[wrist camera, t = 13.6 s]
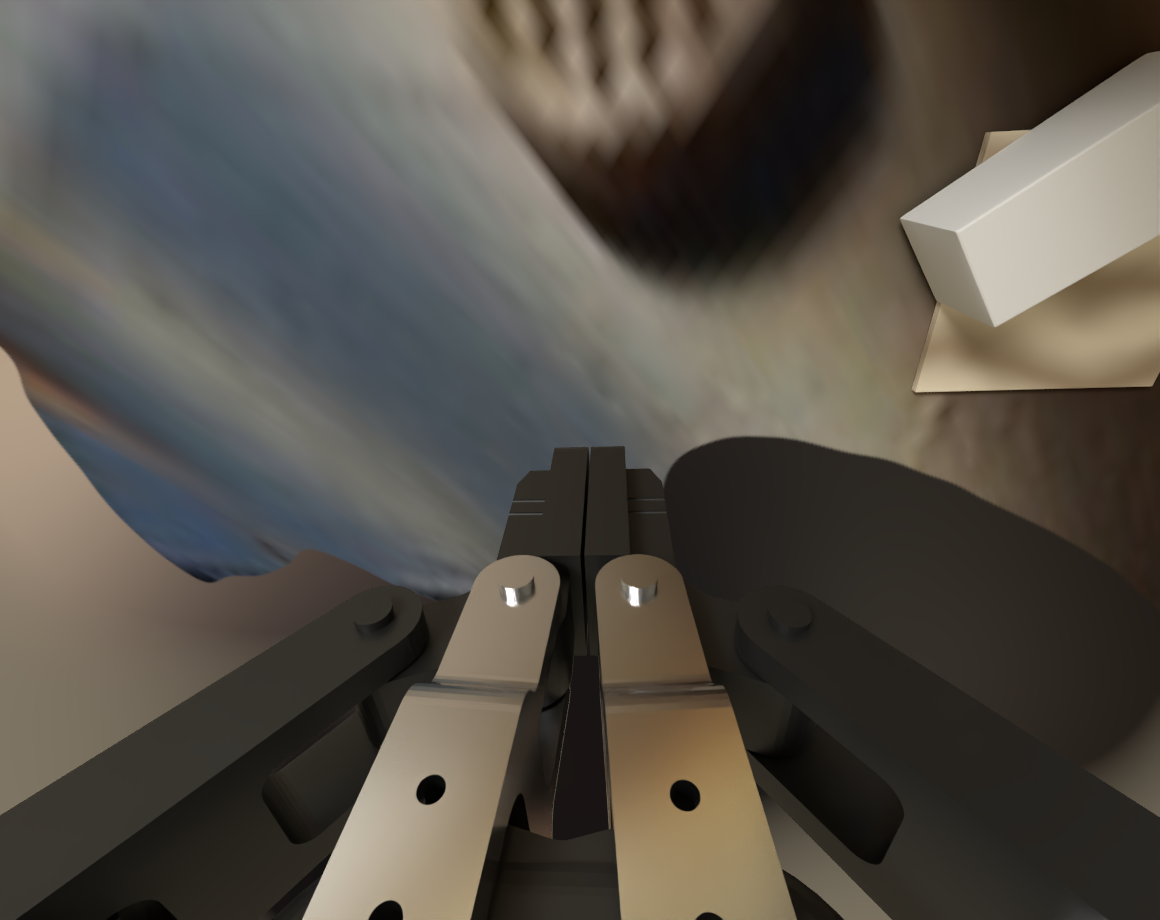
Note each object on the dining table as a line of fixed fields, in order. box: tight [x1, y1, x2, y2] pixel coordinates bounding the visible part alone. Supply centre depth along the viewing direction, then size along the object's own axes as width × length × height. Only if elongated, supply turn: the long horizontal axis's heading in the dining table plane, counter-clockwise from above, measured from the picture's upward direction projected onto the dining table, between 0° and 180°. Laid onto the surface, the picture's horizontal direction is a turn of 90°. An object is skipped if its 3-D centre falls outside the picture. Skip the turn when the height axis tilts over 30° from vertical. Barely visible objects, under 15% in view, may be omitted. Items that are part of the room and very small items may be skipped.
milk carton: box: [900, 51, 1160, 327], centre depth 32 cm, size 7×7×19 cm
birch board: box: [912, 130, 1160, 392], centre depth 38 cm, size 18×18×1 cm
